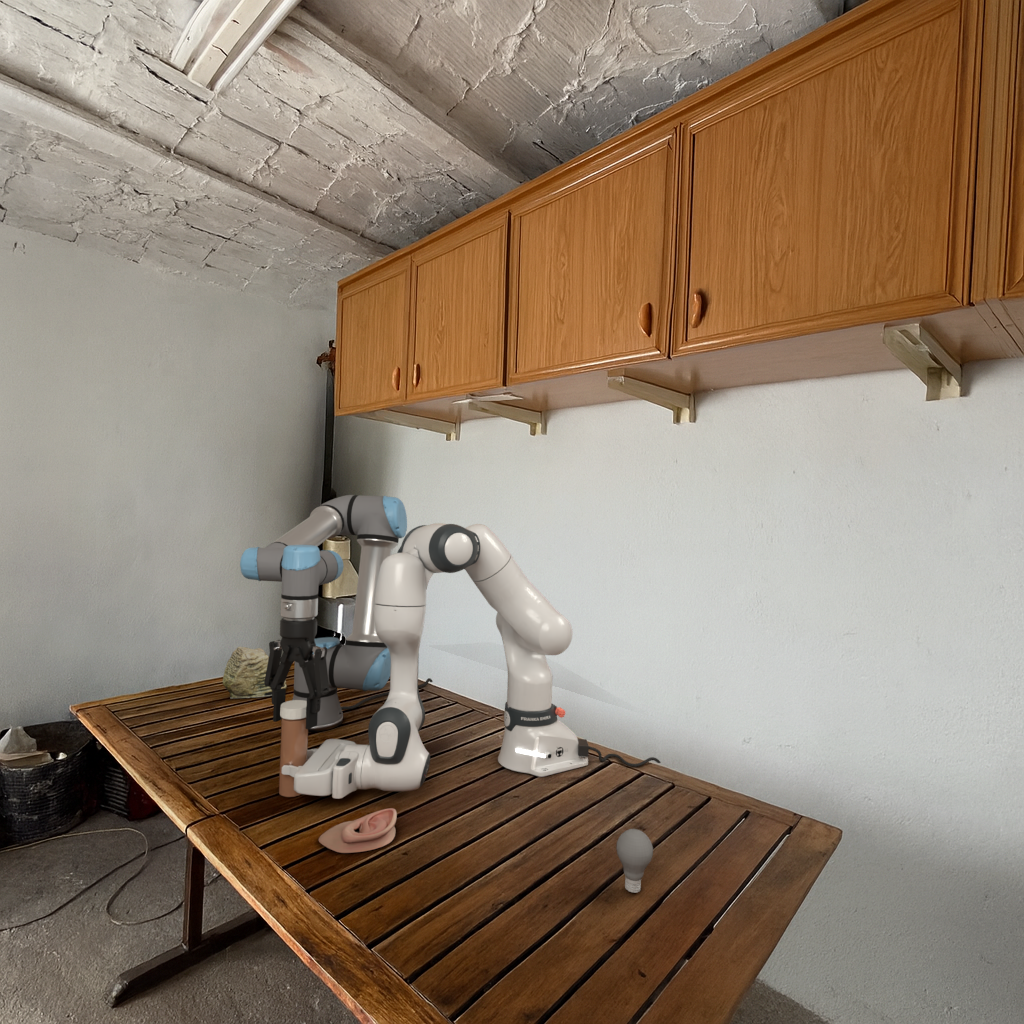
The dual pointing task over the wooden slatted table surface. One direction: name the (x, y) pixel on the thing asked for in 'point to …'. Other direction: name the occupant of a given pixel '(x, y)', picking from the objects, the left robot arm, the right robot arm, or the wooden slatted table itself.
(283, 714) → the lid
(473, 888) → the wooden slatted table surface
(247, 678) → the fossil
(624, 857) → the light bulb
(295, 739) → the jar
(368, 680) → the left robot arm
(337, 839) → the anatomical model
